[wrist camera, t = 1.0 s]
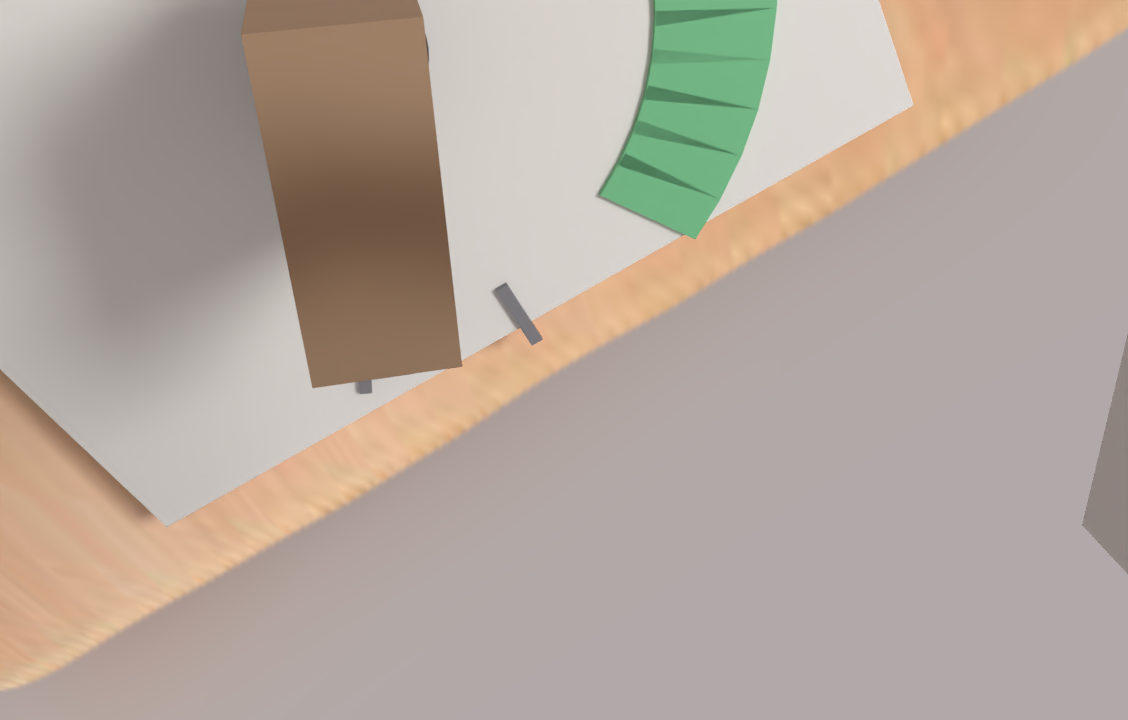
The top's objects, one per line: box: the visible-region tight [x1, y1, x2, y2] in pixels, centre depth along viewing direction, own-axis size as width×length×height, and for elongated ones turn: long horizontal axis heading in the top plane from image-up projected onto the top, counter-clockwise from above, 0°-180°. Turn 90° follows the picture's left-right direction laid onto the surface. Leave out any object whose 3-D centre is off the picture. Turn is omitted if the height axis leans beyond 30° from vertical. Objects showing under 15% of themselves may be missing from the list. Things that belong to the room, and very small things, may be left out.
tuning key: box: [241, 0, 462, 388], centre depth 26 cm, size 14×4×11 cm, turn 3°
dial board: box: [0, 0, 913, 527], centre depth 30 cm, size 22×28×2 cm
